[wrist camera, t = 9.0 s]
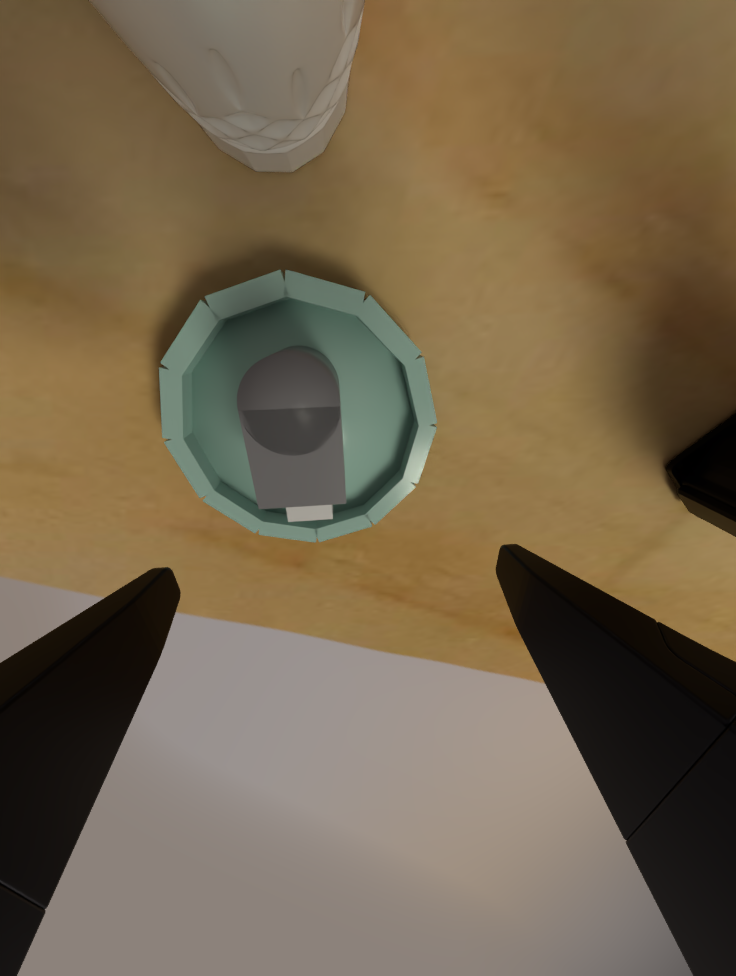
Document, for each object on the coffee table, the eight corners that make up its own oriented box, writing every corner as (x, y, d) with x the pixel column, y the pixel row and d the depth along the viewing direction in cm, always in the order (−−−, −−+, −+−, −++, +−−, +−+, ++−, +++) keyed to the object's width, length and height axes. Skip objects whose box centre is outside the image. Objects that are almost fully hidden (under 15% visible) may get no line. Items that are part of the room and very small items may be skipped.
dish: (279, 202, 14) (272, 186, 12) (472, 414, 19) (484, 422, 18) (129, 432, 18) (109, 442, 16) (322, 557, 23) (321, 574, 22)
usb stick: (256, 346, 16) (226, 355, 12) (336, 344, 16) (336, 352, 12) (281, 495, 20) (266, 544, 16) (346, 491, 20) (348, 538, 16)
